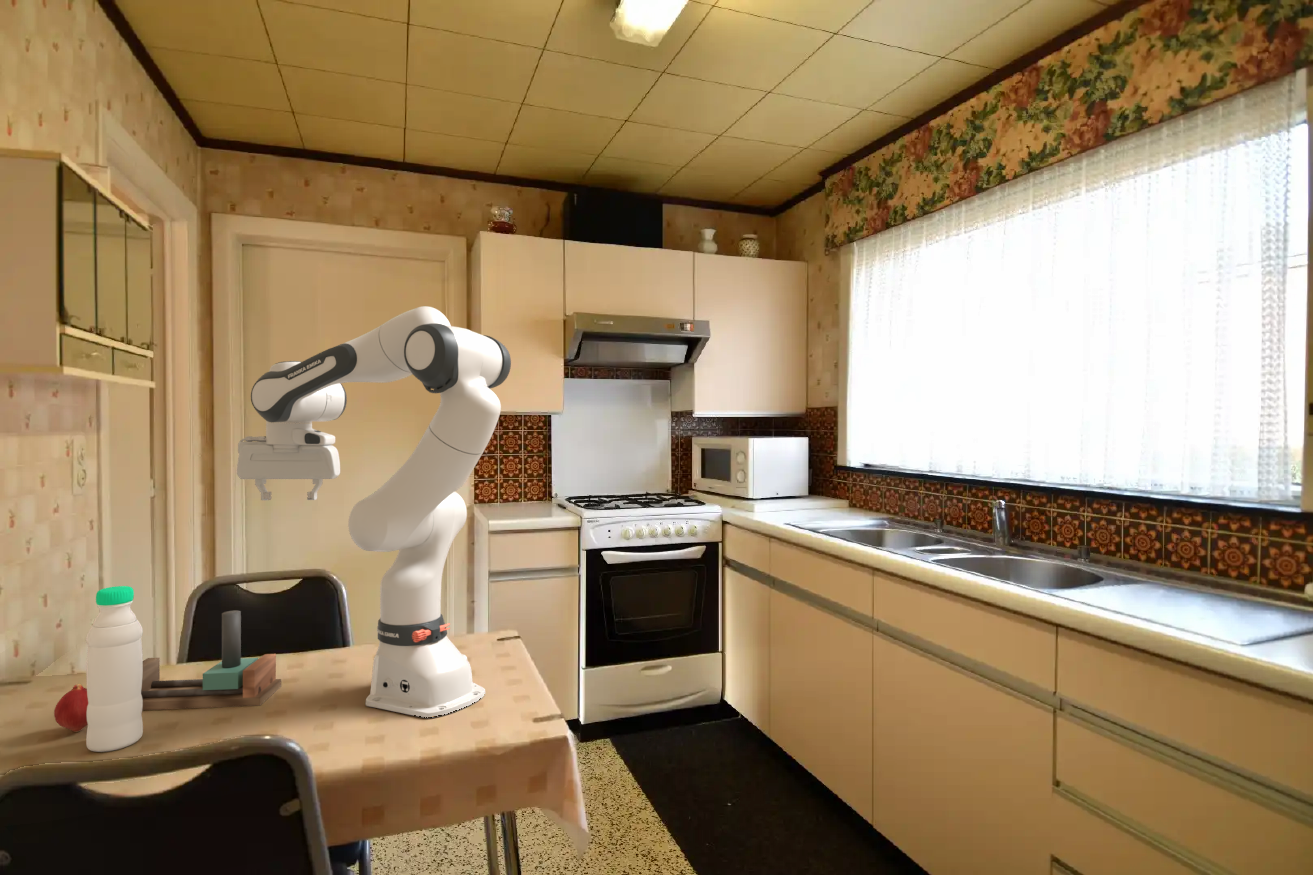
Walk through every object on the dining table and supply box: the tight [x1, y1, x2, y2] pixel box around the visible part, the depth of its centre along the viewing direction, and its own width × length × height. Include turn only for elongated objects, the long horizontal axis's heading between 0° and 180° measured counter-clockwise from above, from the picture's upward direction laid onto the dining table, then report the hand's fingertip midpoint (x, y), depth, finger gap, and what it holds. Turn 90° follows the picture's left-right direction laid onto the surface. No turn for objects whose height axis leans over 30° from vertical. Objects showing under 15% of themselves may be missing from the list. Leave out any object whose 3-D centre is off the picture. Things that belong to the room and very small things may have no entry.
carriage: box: [202, 610, 259, 690], centre depth 126 cm, size 6×8×13 cm
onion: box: [53, 683, 88, 733], centre depth 112 cm, size 6×6×8 cm
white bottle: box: [85, 585, 144, 753], centre depth 108 cm, size 7×7×25 cm
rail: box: [141, 653, 282, 711], centre depth 126 cm, size 24×9×6 cm, turn 97°
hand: (289, 499), depth 146 cm, fingers open, 8 cm apart
